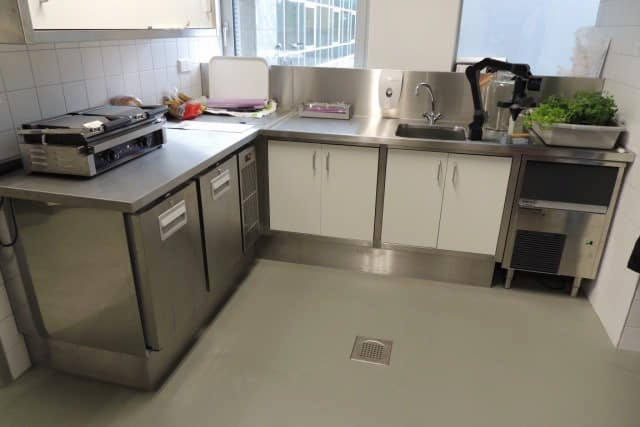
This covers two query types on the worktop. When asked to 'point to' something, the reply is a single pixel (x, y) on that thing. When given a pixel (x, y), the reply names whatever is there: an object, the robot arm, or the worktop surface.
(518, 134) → the strap
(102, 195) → the worktop surface
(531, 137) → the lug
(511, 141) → the clamp base
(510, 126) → the skincare box
